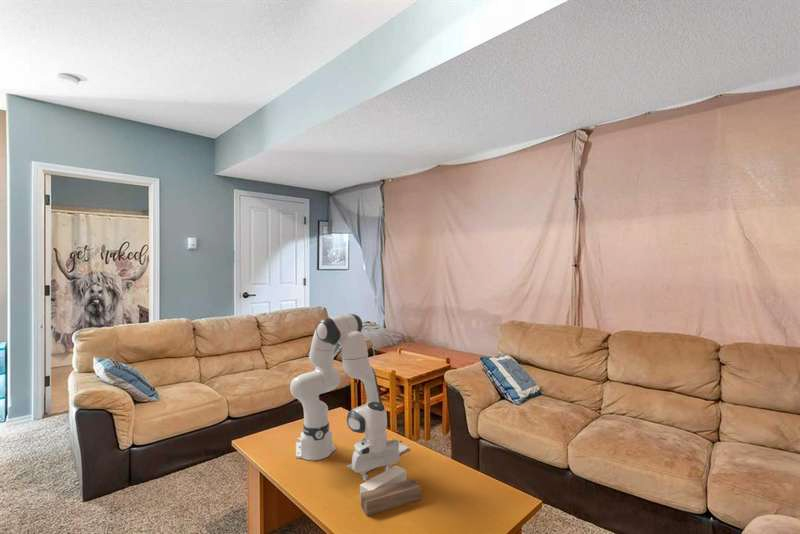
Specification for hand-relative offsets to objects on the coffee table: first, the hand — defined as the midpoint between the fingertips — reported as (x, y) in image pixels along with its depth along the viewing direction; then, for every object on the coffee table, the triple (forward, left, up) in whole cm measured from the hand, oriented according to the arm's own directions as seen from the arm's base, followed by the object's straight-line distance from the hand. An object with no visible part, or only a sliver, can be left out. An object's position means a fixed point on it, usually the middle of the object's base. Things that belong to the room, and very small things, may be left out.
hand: (376, 476), depth 159 cm
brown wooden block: (+15, 0, -2) cm, 15 cm away
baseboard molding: (-19, +9, -3) cm, 21 cm away
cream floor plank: (+6, +1, -2) cm, 6 cm away
